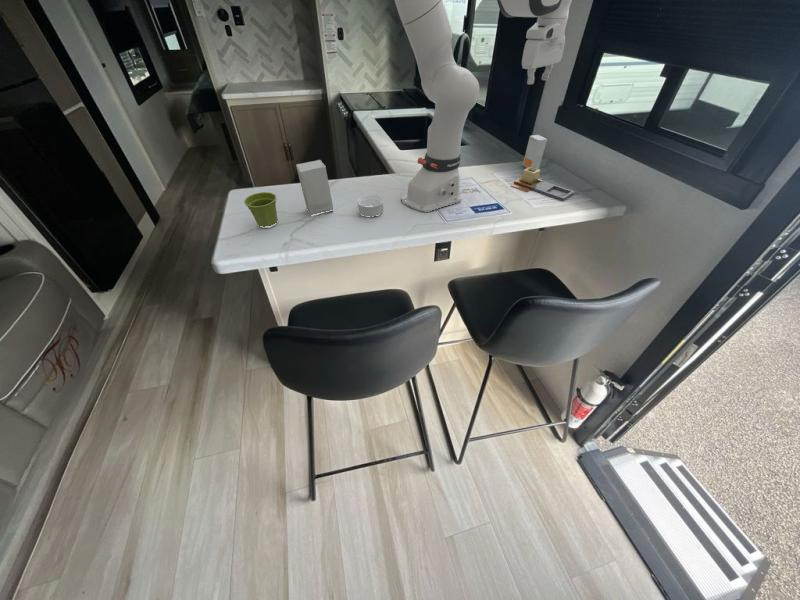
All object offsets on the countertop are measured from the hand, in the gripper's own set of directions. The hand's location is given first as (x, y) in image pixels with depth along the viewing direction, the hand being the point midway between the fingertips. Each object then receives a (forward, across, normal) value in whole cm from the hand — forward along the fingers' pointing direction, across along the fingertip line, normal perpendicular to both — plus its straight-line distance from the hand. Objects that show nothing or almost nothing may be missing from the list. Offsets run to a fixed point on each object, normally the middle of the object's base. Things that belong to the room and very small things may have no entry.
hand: (537, 81), depth 112 cm
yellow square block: (+31, +7, +10) cm, 33 cm away
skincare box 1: (+31, +77, -28) cm, 88 cm away
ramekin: (+31, +65, -15) cm, 74 cm away
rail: (+31, +8, +16) cm, 36 cm away
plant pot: (+31, +94, -32) cm, 104 cm away
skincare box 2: (+31, -8, +2) cm, 32 cm away
